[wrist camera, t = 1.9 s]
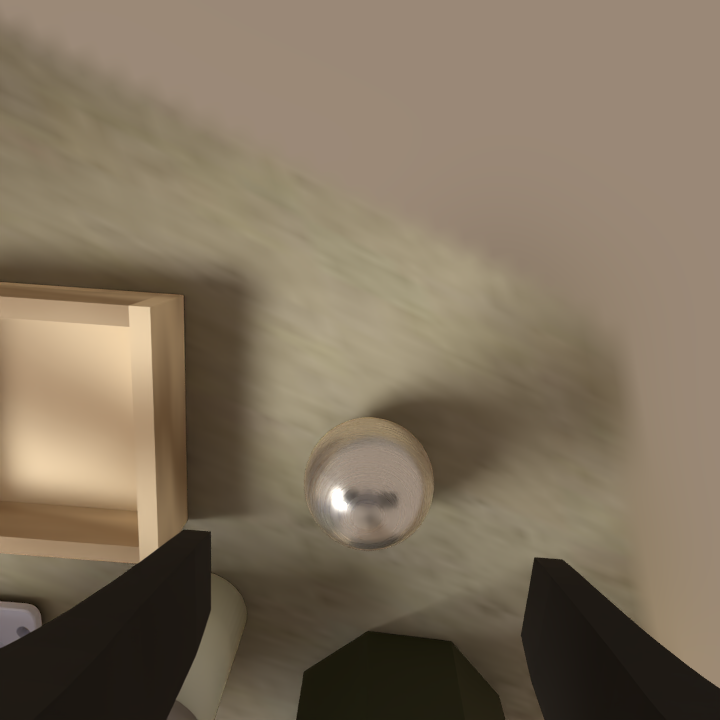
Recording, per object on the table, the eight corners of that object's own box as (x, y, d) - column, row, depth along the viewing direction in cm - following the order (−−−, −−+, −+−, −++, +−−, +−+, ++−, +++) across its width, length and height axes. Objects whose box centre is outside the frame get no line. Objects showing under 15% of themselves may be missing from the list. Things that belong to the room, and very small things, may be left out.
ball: (421, 510, 19) (433, 585, 15) (310, 502, 19) (292, 574, 15) (433, 404, 18) (449, 454, 14) (314, 395, 18) (297, 443, 14)
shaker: (248, 656, 20) (198, 827, 15) (152, 648, 21) (63, 815, 15) (250, 572, 20) (196, 719, 14) (148, 564, 20) (53, 707, 14)
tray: (187, 520, 19) (158, 565, 17) (-36, 503, 19) (-98, 545, 17) (183, 295, 17) (150, 307, 14) (-67, 277, 17) (-143, 286, 15)
